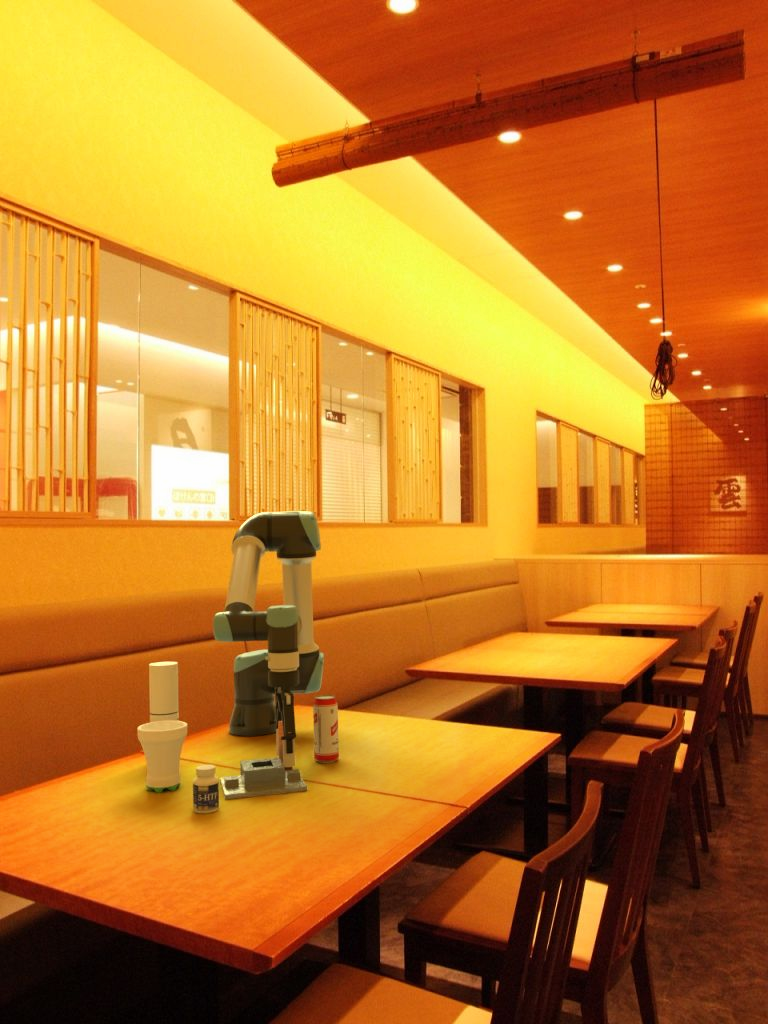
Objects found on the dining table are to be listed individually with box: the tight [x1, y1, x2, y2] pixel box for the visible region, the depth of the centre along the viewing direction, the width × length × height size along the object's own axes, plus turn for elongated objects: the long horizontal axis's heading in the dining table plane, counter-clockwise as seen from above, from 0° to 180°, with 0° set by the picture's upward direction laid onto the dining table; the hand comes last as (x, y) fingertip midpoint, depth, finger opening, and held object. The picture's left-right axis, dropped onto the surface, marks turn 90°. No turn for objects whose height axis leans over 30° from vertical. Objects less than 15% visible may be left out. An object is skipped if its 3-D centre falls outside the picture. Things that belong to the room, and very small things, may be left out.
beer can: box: [312, 694, 340, 764], centre depth 211 cm, size 6×6×16 cm
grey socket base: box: [219, 756, 308, 800], centre depth 190 cm, size 14×18×5 cm
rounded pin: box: [278, 720, 294, 771], centre depth 203 cm, size 3×3×12 cm
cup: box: [137, 720, 188, 794], centre depth 191 cm, size 11×11×14 cm
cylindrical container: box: [148, 661, 180, 723], centre depth 215 cm, size 7×7×25 cm
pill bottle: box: [192, 764, 220, 814], centre depth 174 cm, size 5×5×9 cm
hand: (285, 760), depth 202 cm, fingers open, 10 cm apart
